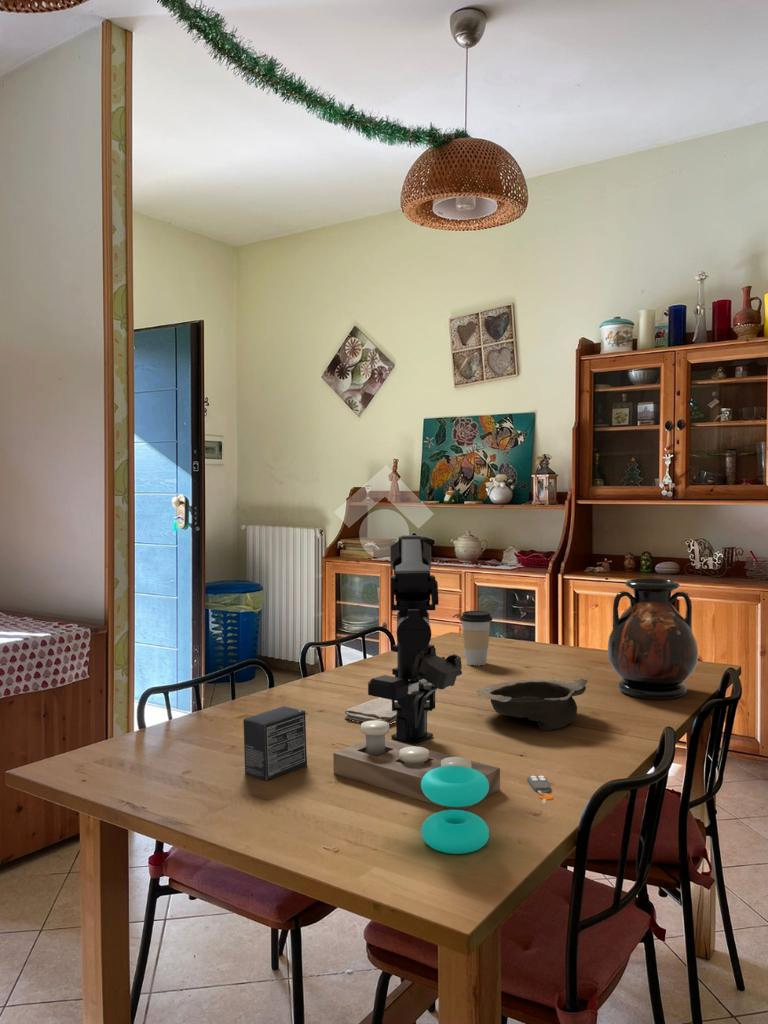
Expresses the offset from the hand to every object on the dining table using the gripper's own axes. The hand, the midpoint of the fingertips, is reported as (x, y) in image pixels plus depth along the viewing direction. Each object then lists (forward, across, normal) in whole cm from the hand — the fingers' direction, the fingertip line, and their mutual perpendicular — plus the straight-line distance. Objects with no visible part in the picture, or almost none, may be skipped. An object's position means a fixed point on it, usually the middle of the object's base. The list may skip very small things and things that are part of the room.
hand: (413, 727), depth 140 cm
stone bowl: (+10, +46, +2) cm, 47 cm away
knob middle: (+10, 0, 0) cm, 10 cm away
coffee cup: (+10, +84, +41) cm, 94 cm away
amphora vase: (+10, +84, -11) cm, 85 cm away
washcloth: (+10, +29, +30) cm, 43 cm away
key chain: (+10, +10, -20) cm, 25 cm away
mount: (+10, 0, 0) cm, 10 cm away
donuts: (+10, -15, -19) cm, 26 cm away
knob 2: (+10, 0, -9) cm, 13 cm away
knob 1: (+6, 0, +9) cm, 11 cm away
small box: (+10, -11, +24) cm, 28 cm away
